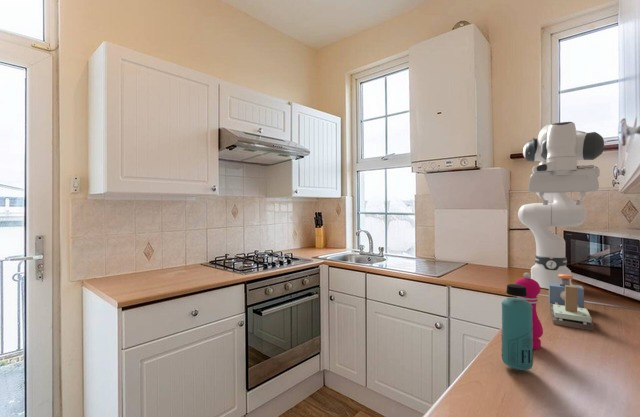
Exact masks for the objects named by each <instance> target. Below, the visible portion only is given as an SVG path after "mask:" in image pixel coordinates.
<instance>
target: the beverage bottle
mask: <svg viewBox="0 0 640 417" xmlns="http://www.w3.org/2000/svg"><path fill="white" fill-rule="evenodd" d="M506 294H507V295H509V296H510V297H509V296H508V297H506V298H504V299H503V300H502V301H501V334H500V337H501V338H500V340H501V341H500V343H501V344H500V345H501V360H502V362H503V363H504V365H506V366H508V367H510V368H512V369H515V370H520V371H521V370H522V371H528V370H531V369H533V366H534V363H535V361H534V358H535V357H534V356H535V355H534V349H533V323H532V305H531V304H530V303H529V302H528V301H527V300H525V299H522V298H517V296H527V291H526V287H525V286H523V285H518V284H515V283H509V284H507V285H506ZM511 296H513V297H511Z"/></svg>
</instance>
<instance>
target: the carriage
mask: <svg viewBox="0 0 640 417" xmlns="http://www.w3.org/2000/svg"><path fill="white" fill-rule="evenodd" d="M553 311H554V315H555V317H557V318H563V319H570V320H577V321H583V322H590V323H591V322H592V316H591V315H590V313H589V311H588V309H587V308H585V307H584V308H577V286H570V285H565V306H562V305H555V304H553Z"/></svg>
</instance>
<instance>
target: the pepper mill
mask: <svg viewBox="0 0 640 417" xmlns="http://www.w3.org/2000/svg"><path fill="white" fill-rule="evenodd" d="M522 275H523V277H521V278H518V279H517V280H516V281H515V283H514V284H518V285H523V286H525V287H526V291H527V296H516V298H522V299H525V300H527V301H528V302H529V303H530V304H531V305H532V323H533V350H539V349H541V347H542V345H541V344H542V341H541V339H540V338H541V337H542V336H543V334H544V328H543V325H542V323H541V320H540V319H539V316H538V313H537V303H539V297H538V295H539V294H540V293H541V287H540V285H539V284H538V282H536V281H535V280H533V279H531V273H530V272H524V273H523V274H522Z"/></svg>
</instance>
